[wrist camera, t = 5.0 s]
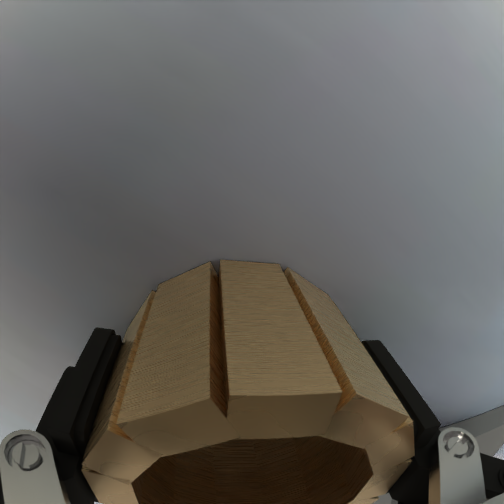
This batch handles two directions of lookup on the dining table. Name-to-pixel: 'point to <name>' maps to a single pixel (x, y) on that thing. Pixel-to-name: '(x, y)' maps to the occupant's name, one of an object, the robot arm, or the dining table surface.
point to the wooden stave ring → (245, 399)
